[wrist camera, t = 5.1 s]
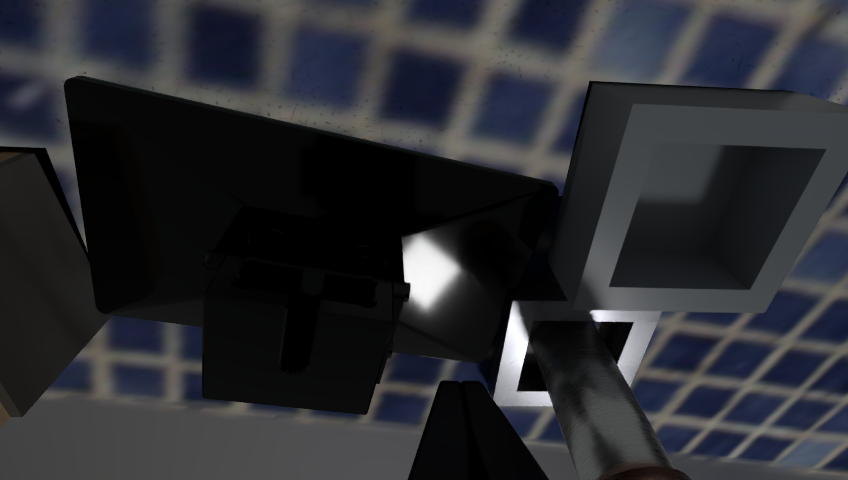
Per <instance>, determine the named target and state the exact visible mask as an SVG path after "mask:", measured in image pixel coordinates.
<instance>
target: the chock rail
mask: <svg viewBox="0 0 848 480" xmlns="http://www.w3.org/2000/svg"><path fill="white" fill-rule="evenodd" d="M111 316H112V315H108V314H103V313H101V312H99V311H98V310H97V308H96V305H95V298H94V291H93V284H92V277H91V270H90V263H89V257H88V252H87V250H86V247H85V245H84V242H83V240H82V237H81V235H80V232H79V230H78V227H77V225H76V222H75V220H74V217H73V215H72V212H71V210H70V207H69V205H68V202H67V200H66V197H65V195H64V192H63V190H62V188H61V185H60V183H59V180H58V178H57V175H56V173H55V170H54V168H53V165H52V163H51V160H50V158H49V155H48V153H47V150H46V148H31V147H5V146H0V427H1V426H2V425H3V424H4V423H5V422H6V421H7V420H8V419H9V418H10V417H23V416H24V415H25V414H26V412H27V411H28V410H29V409H30V407H32V406H33V404H34V403H35V402H36V401H37V400H38V399H39V398H40V397H41V395H42V394H43V393H44V392H45V391H46V390H47V389H48V387H49V386H50V385H51V384H52V383H53V382H54V381H55V380H56V378H57V377H58V376H59V375H60V374H61V373H62V372H63V370H64V369H65V368H66V367H67V366H68V365H69V364H70V363H71V361H72V360H73V359H74V358H75V357H76V356H77V355H78V353H79V352H80V351H81V350H82V349H83V348H84V347H85V346H86V344H87V343H88V342H89V341H90V340H91V339H92V338H93V336H94V335H95V334H96V333H97V332H98V331H99V330H100V329H101V327H102V326H103V325H104V324H105V323H106V322H107V321H108V320H109V318H110V317H111Z"/></svg>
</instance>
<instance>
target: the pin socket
mask: <svg viewBox="0 0 848 480" xmlns="http://www.w3.org/2000/svg"><path fill="white" fill-rule="evenodd" d="M661 313H662V311H611V310H572V308H571V306H570V304H569V302H568V300H567V298H566V296H565V294H564V292H563V290H562V288H561V286H560V285H559V283H537V282H519V283H518V286H517V288H516V290H515V292H514V295H511V298H510V303H509V306H508V308H507V310H506V312H505V314H504V317H503V319H502V321H501V323H500V326H499V328H498V331H497V336H496V342H495V347H494V352H493V358H492V363H491V368H490V374H489V379H488V390H489V394H490V395H491V397H492V398H493V400H494V401H495V403H496V404H497V405H498V406H553V405H552V402H551V399H550V396H549V394H548V391H547V388H546V385H545V382H544V379H543V377H542V374H541V371H521V370H522V366H523V362H524V357H525V353H526V349H527V345H528V341H529V336H530V332H531V328H532V324H533V320H539V321H604V322H614V324H613V327H612V329H611V332H610V335H609V338H608V340H607V343H606V346H607V348H608V350H609V351H610V353H611V355H612V357H613V358H614V360H615V362H616V364H617V366H618V367H619V369H620V371H621V373H622V375H623V376H624V378H625V380H626V382H627V383H628V385H629V387H630V385H631V383H632V380H633V378H634V376H635V373H636V371H637V369H638V367H639V364H640V362H641V360H642V357H643V355H644V353H645V350H646V348H647V346H648V343H649V341H650V339H651V336H652V334H653V332H654V329H655V327H656V325H657V322H658V320H659V318H660V315H661Z"/></svg>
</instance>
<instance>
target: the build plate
mask: <svg viewBox="0 0 848 480" xmlns="http://www.w3.org/2000/svg"><path fill="white" fill-rule="evenodd" d="M64 91H65V98H66V105H67V112H68V119H69V126H70V132H71V139H72V146H73V153H74V160H75V167H76V174H77V181H78V188H79V195H80V201H81V208H82V215H83V222H84V229H85V236H86V243H87V250H88V257H89V263H90V270H91V277H92V284H93V291H94V298H95V305H96V308H97V310H98V311H99V312H101V313H103V314H108V315H115V316H123V317H130V318H138V319H146V320H153V321H161V322H168V323H176V324H183V325H191V326H199V327H203V341H202V397H203V398H205V399H215V400H225V401H235V402H244V403H254V404H264V405H274V406H284V407H293V408H303V409H313V410H323V411H333V412H343V413H352V414H362V415H366V414H367V413H368V410H369V406H370V403H371V399H372V396H373V393H374V389H375V386H376V384H380V380H381V377H382V374H383V370H384V367H385V364H386V360H387V358H391V356H392V352H396V353H403V354H411V355H418V356H424V357H431V358H439V359H447V360H454V361H464V362H471V363H480V362H482V361H483V360H484V359H485V357H486V354H487V352H488V350H489V348H490V345H491V343H492V341H493V339H494V337H495V334H496V332H497V330H498V328H499V326H500V323H501V321H502V319H503V317H504V314H505V312H506V310H507V308H508V306H509V303H510V298H511V295H514V292H515V290H516V288H517V286H518V283H519V281H520V279H521V277H522V275H523V272H524V270H525V268H526V266H527V264H528V261H529V259H530V257H531V255H532V252H533V250H534V248H535V246H536V244H537V241H538V239H539V237H540V235H541V232H542V230H543V228H544V226H545V224H546V221H547V219H548V217H549V215H550V213H551V210H552V208H553V206H554V204H555V201H556V199H557V197H558V194H559V191H558V189H557V188H556V186H555V185H554V184H553V183H552V182H549V181H545V180H541V179H536V178H532V177H527V176H523V175H519V174H514V173H510V172H505V171H501V170H497V169H492V168H488V167H483V166H479V165H474V164H470V163H466V162H461V161H457V160H452V159H448V158H444V157H439V156H435V155H430V154H426V153H421V152H417V151H413V150H408V149H404V148H399V147H395V146H391V145H386V144H382V143H377V142H373V141H369V140H364V139H360V138H355V137H351V136H346V135H342V134H338V133H333V132H329V131H324V130H320V129H316V128H311V127H307V126H302V125H298V124H294V123H289V122H285V121H280V120H276V119H271V118H267V117H263V116H258V115H254V114H249V113H245V112H241V111H236V110H232V109H227V108H223V107H218V106H214V105H210V104H205V103H201V102H196V101H192V100H188V99H183V98H179V97H174V96H170V95H166V94H161V93H157V92H152V91H148V90H143V89H139V88H135V87H130V86H126V85H121V84H117V83H113V82H108V81H104V80H99V79H95V78H91V77H86V76H76V77H73V78H70V79H67V80H66V81H65V83H64Z"/></svg>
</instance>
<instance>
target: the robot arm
mask: <svg viewBox="0 0 848 480" xmlns="http://www.w3.org/2000/svg"><path fill="white" fill-rule="evenodd" d="M408 480H549V479H548V477H547V476H546V475H545V473H544V472H543V470H542V469H541V467H540V466H539V464H538V463H537V461H536V460H535V459H534V457H533V456H532V454H531V453H530V451H529V450H528V449H527V447H526V446H525V444H524V443H523V441H522V440H521V438H520V437H519V436H518V434H517V433H516V431H515V430H514V428H513V427H512V426H511V424H510V423H509V421H508V420H507V418H506V417H505V415H504V414H503V413H502V411H501V410H500V408H499V407H498V405H497V404H496V403H495V401H494V400H493V398H492V397H491V395H490V394H489V392H488V391H487V390H486V388H485V387H484V385H483V384H482V383H481V382H479V381H462V382H461V383H460V382H459V381H446V380H443V381H441V382H440V383H439V386H438V389H437V392H436V395H435V398H434V401H433V404H432V407H431V410H430V413H429V416H428V419H427V422H426V426H425V429H424V432H423V435H422V438H421V441H420V444H419V447H418V450H417V453H416V456H415V459H414V462H413V465H412V468H411V471H410V474H409V477H408Z"/></svg>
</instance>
